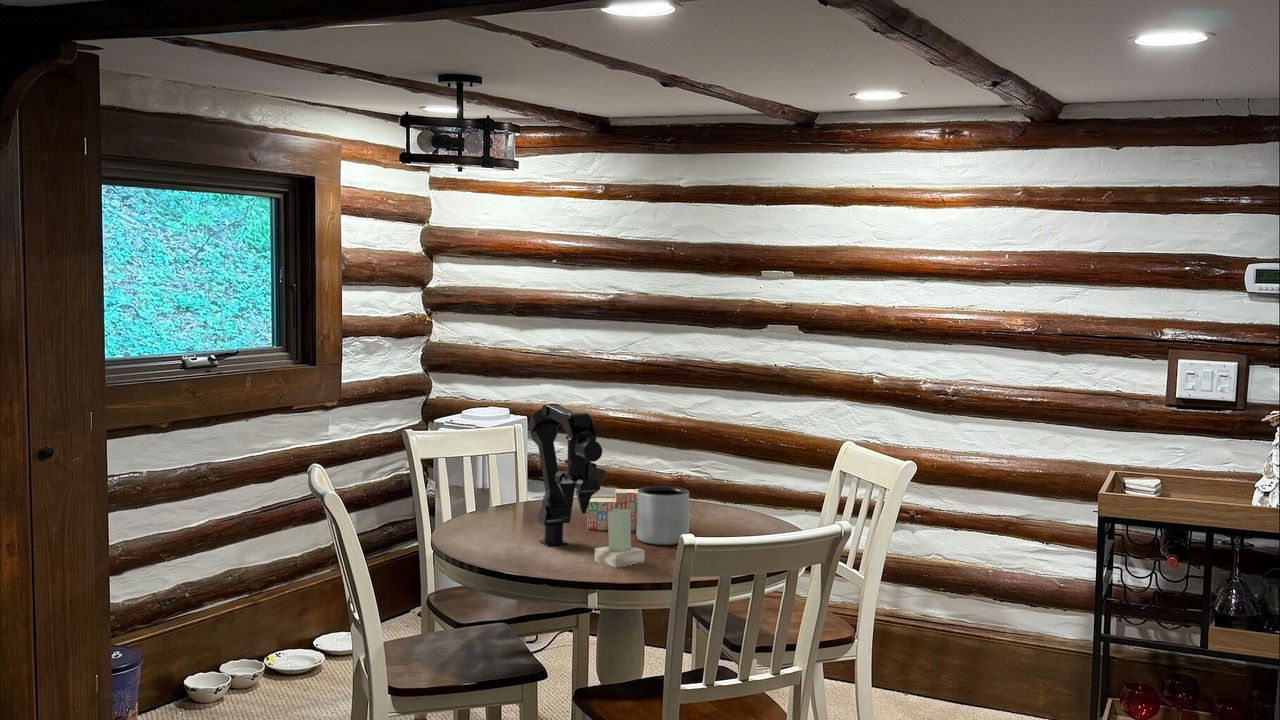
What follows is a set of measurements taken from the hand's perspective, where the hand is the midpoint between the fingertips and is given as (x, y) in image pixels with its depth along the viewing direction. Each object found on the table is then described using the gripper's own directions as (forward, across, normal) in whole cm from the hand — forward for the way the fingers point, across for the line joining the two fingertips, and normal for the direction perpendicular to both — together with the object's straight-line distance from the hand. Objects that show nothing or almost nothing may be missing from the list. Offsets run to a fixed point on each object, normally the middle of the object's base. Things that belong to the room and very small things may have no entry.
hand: (576, 510), depth 321 cm
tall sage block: (+9, -12, -8) cm, 17 cm away
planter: (+13, +6, -32) cm, 35 cm away
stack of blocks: (+13, +26, -28) cm, 41 cm away
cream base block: (+14, -12, -8) cm, 20 cm away
